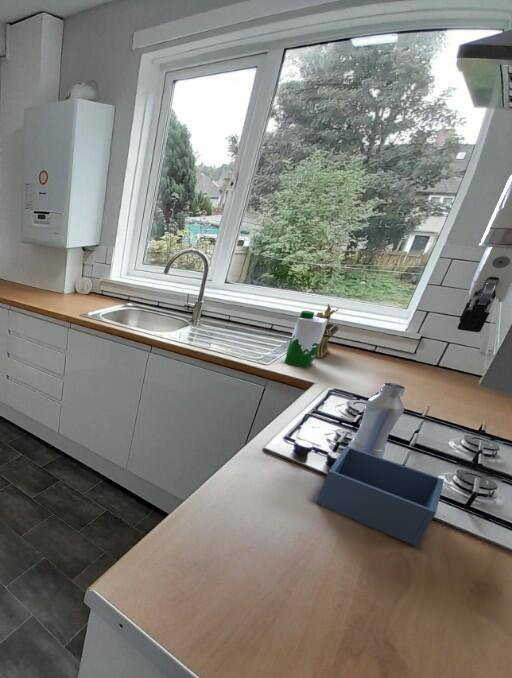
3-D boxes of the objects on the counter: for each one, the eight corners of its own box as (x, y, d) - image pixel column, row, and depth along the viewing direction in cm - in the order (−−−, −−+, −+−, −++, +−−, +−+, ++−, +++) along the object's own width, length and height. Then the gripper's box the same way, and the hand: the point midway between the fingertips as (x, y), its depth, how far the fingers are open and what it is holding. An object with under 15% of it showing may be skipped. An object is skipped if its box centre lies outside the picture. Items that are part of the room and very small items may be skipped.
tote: (426, 511, 84) (444, 479, 80) (416, 546, 75) (435, 512, 71) (333, 474, 94) (346, 445, 91) (315, 502, 85) (328, 471, 82)
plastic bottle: (381, 471, 96) (418, 394, 88) (345, 461, 99) (378, 387, 91) (376, 457, 101) (411, 384, 93) (342, 449, 104) (372, 377, 96)
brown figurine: (322, 359, 163) (340, 311, 155) (294, 353, 170) (310, 306, 161) (333, 349, 176) (350, 303, 168) (306, 343, 182) (321, 299, 174)
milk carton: (288, 357, 165) (304, 309, 157) (314, 363, 159) (332, 313, 151) (281, 362, 160) (297, 312, 152) (308, 369, 154) (326, 317, 145)
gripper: (546, 242, 70) (496, 338, 76) (538, 238, 80) (495, 322, 87) (481, 240, 75) (440, 330, 82) (482, 236, 85) (445, 316, 92)
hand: (468, 326), depth 84 cm, fingers open, 9 cm apart
